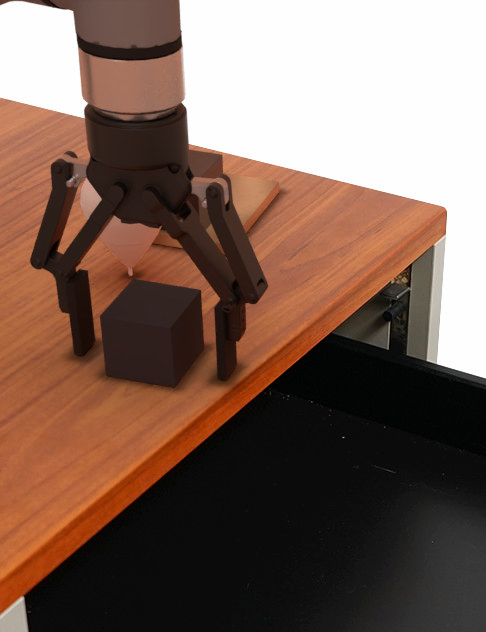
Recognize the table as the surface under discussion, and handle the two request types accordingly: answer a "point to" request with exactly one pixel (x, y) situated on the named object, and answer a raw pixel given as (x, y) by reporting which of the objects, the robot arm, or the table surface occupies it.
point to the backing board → (246, 194)
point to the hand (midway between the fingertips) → (155, 359)
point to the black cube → (152, 332)
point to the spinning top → (119, 232)
